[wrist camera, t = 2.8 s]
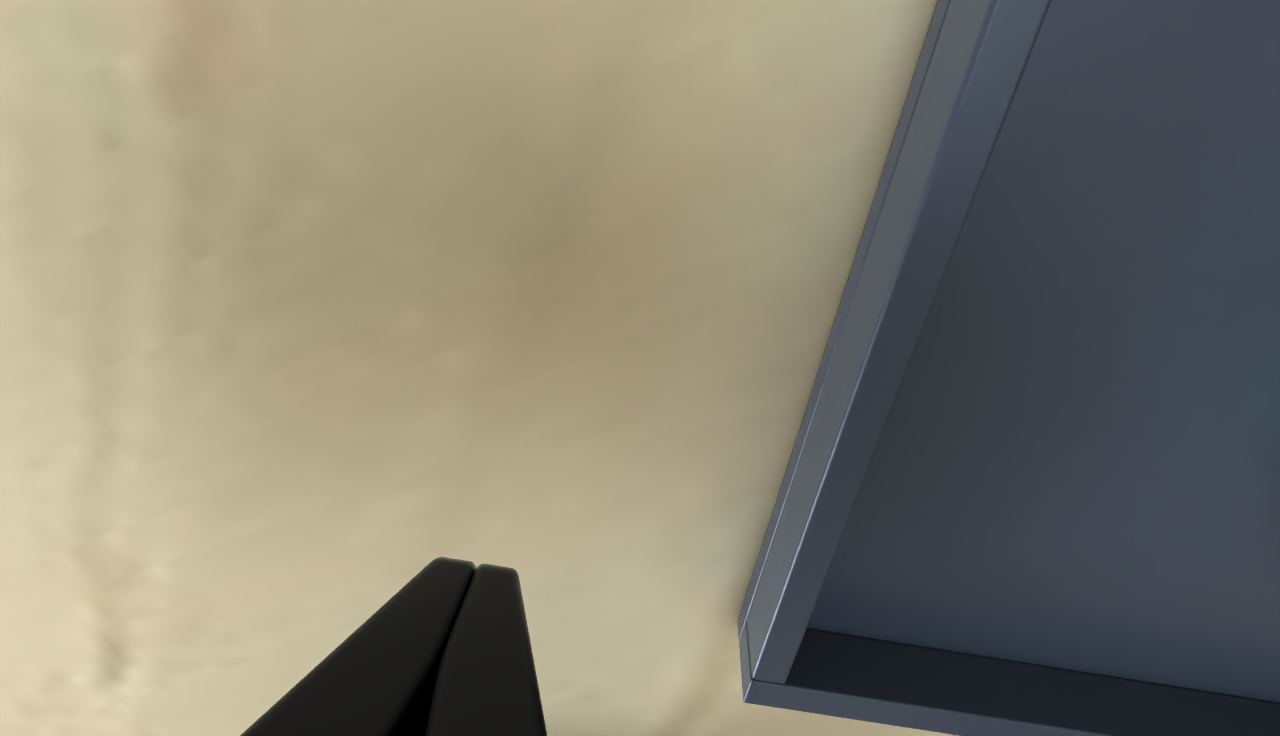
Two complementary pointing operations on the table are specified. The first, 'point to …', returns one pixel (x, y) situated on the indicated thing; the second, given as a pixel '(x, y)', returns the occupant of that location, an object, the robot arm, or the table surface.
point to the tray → (1049, 393)
